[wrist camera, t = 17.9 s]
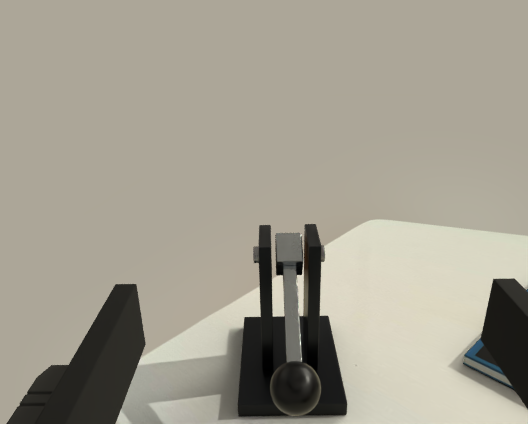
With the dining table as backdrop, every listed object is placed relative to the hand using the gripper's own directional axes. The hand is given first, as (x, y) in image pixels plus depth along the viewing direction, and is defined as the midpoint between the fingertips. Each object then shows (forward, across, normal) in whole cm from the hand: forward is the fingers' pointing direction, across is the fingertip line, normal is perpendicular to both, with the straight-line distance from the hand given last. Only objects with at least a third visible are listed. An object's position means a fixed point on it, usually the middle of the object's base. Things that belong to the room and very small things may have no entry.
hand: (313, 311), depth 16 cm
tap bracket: (+20, 0, -20) cm, 28 cm away
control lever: (+16, 0, -13) cm, 20 cm away
